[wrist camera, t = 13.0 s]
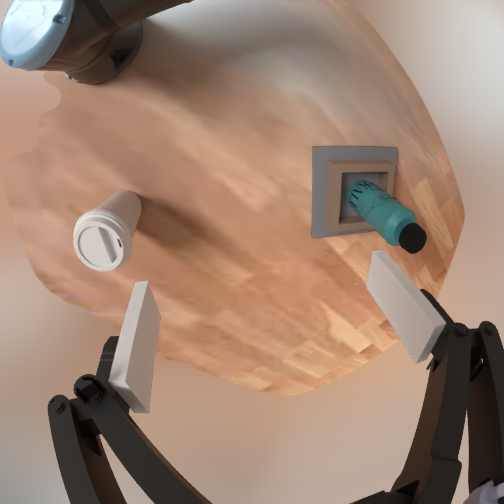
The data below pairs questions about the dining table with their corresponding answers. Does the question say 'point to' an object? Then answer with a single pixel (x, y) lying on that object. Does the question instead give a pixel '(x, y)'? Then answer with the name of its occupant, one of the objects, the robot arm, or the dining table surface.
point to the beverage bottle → (387, 216)
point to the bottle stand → (347, 185)
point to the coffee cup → (108, 232)
